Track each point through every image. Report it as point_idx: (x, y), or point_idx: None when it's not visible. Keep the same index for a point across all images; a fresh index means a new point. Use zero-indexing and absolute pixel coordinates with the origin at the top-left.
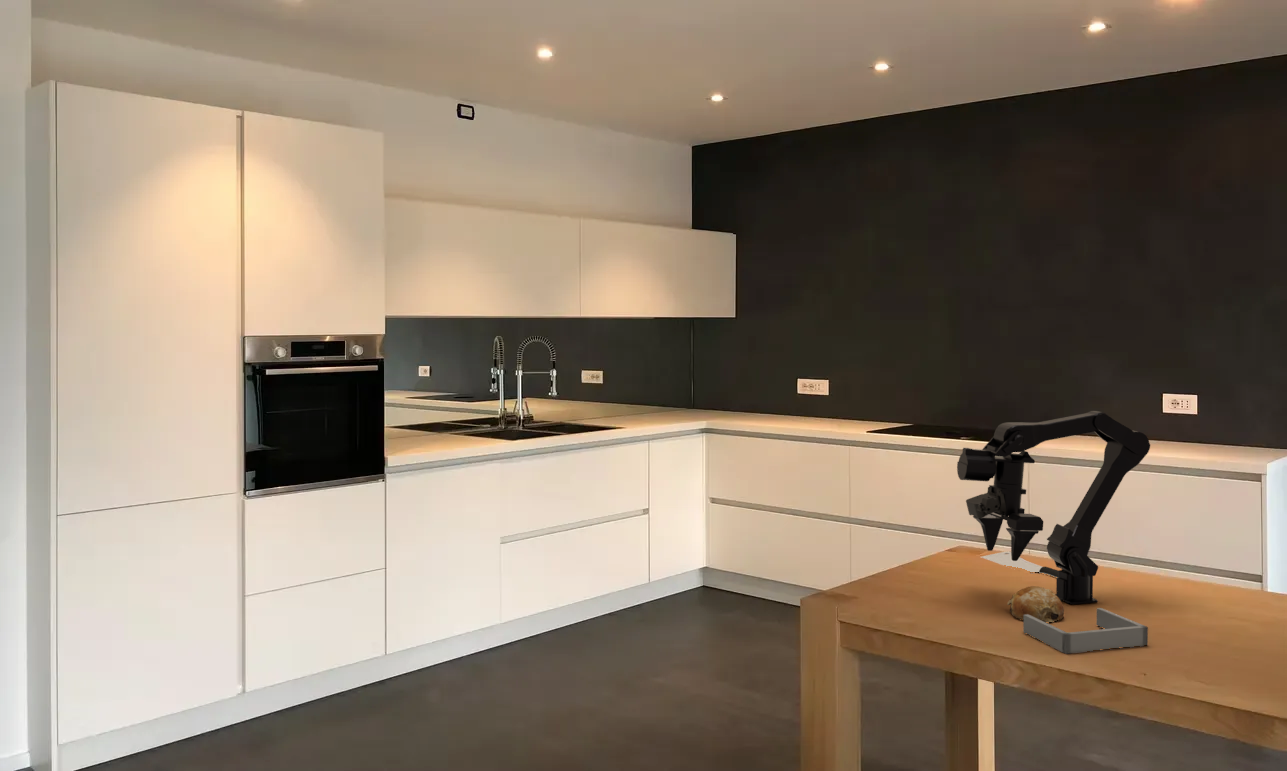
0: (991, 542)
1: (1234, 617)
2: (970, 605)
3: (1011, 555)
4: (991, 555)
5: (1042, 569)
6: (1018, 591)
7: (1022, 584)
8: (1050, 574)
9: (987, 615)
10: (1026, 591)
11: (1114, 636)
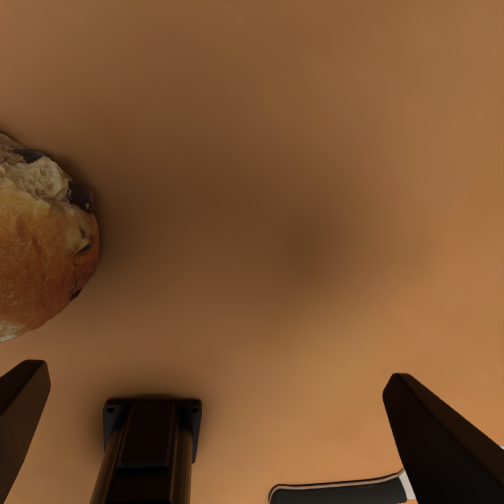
0: (422, 450)
1: None
2: (232, 81)
3: (16, 391)
4: None
5: (396, 488)
6: (4, 226)
7: (349, 400)
8: (364, 484)
9: (52, 30)
10: None
11: None
